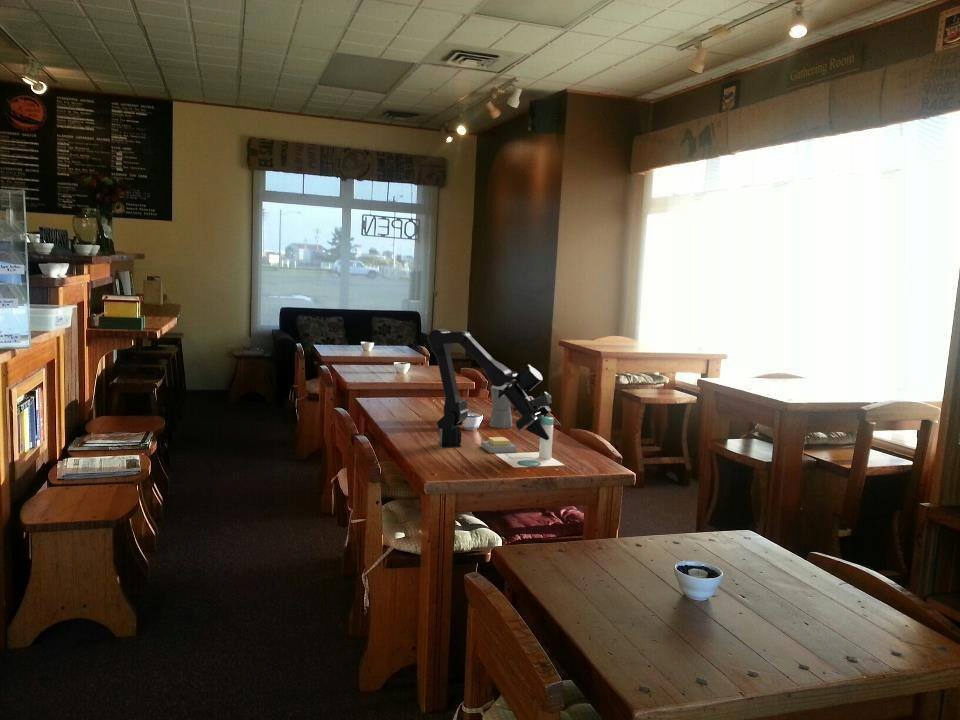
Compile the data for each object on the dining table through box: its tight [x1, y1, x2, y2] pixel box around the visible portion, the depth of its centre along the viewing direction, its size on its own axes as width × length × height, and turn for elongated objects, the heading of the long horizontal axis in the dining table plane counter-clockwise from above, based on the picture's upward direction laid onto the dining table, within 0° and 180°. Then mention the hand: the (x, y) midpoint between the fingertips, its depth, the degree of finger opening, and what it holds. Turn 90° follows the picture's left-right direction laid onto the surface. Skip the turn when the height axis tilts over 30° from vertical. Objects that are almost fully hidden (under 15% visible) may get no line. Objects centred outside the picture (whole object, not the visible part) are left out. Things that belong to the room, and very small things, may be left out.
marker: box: [538, 416, 555, 459], centre depth 243 cm, size 4×4×13 cm
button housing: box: [480, 440, 517, 454], centre depth 253 cm, size 9×9×2 cm
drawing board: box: [494, 451, 565, 468], centre depth 241 cm, size 18×18×1 cm
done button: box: [487, 436, 511, 446], centre depth 252 cm, size 5×5×2 cm
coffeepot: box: [488, 383, 514, 429], centre depth 294 cm, size 15×9×18 cm, turn 147°
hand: (550, 438), depth 243 cm, fingers closed on marker, 4 cm apart
